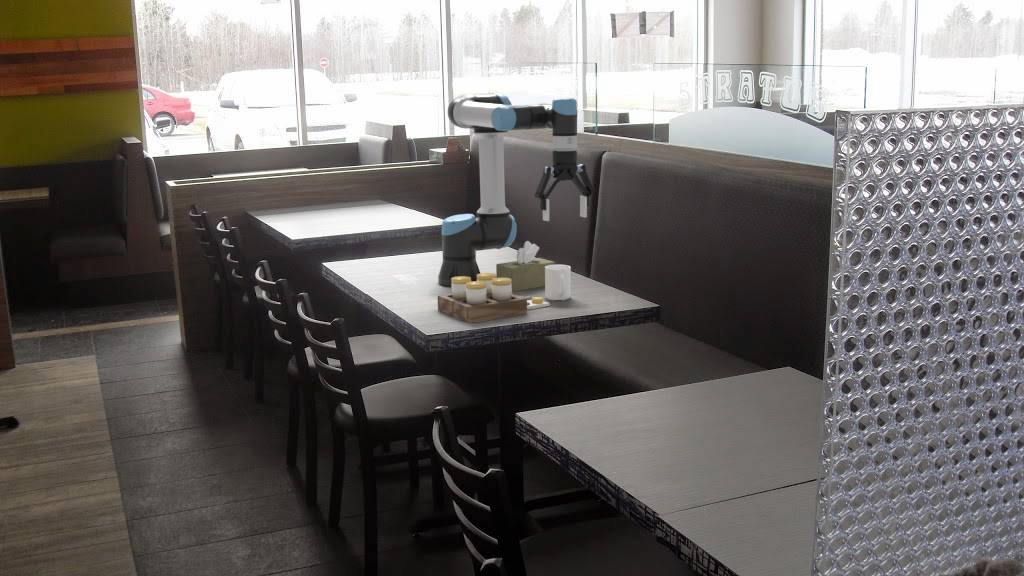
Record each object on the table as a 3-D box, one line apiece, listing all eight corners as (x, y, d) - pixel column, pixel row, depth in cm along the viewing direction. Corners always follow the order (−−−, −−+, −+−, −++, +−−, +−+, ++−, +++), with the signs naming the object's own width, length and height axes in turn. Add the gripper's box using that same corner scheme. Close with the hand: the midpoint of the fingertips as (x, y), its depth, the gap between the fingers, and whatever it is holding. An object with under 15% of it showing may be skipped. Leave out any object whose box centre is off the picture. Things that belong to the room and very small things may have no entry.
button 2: (462, 302, 296) (462, 282, 295) (480, 299, 299) (479, 280, 298) (472, 306, 291) (472, 286, 290) (490, 303, 294) (489, 283, 293)
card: (502, 303, 313) (501, 296, 312) (528, 299, 318) (528, 292, 317) (522, 310, 303) (522, 303, 302) (549, 306, 308) (549, 299, 308)
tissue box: (511, 292, 329) (511, 245, 326) (495, 287, 337) (494, 241, 334) (556, 284, 340) (556, 239, 336) (539, 280, 348) (539, 235, 344)
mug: (576, 302, 312) (576, 270, 310) (550, 304, 311) (550, 272, 308) (567, 294, 324) (567, 263, 321) (542, 295, 322) (542, 265, 320)
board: (437, 310, 305) (437, 295, 304) (492, 301, 316) (492, 287, 315) (470, 323, 289) (469, 307, 288) (527, 313, 299) (526, 298, 298)
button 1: (448, 296, 303) (447, 277, 302) (465, 294, 307) (464, 275, 305) (458, 300, 298) (457, 281, 297) (475, 297, 302) (474, 278, 300)
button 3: (473, 293, 308) (473, 274, 307) (490, 290, 311) (489, 272, 310) (483, 296, 303) (483, 277, 302) (499, 294, 306) (499, 275, 305)
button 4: (488, 298, 301) (488, 279, 299) (505, 295, 304) (504, 276, 303) (498, 302, 296) (498, 282, 294) (515, 299, 299) (515, 280, 298)
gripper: (535, 152, 291) (536, 223, 295) (605, 148, 302) (605, 216, 307) (523, 151, 297) (523, 220, 302) (592, 146, 309) (591, 214, 313)
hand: (564, 218), depth 304 cm, fingers open, 13 cm apart
